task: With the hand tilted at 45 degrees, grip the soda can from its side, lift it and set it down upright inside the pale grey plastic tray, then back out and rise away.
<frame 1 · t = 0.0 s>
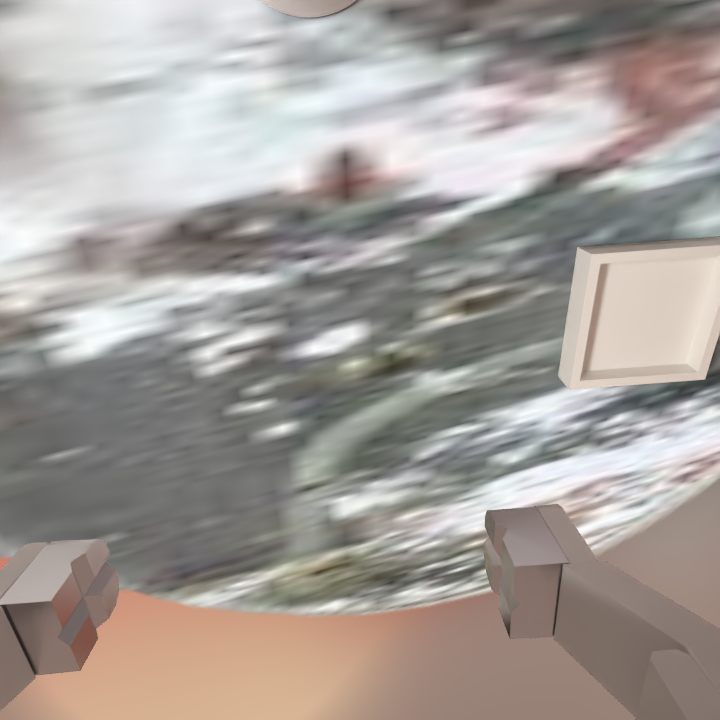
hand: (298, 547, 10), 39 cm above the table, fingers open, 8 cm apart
tray: (635, 311, 50), on the table
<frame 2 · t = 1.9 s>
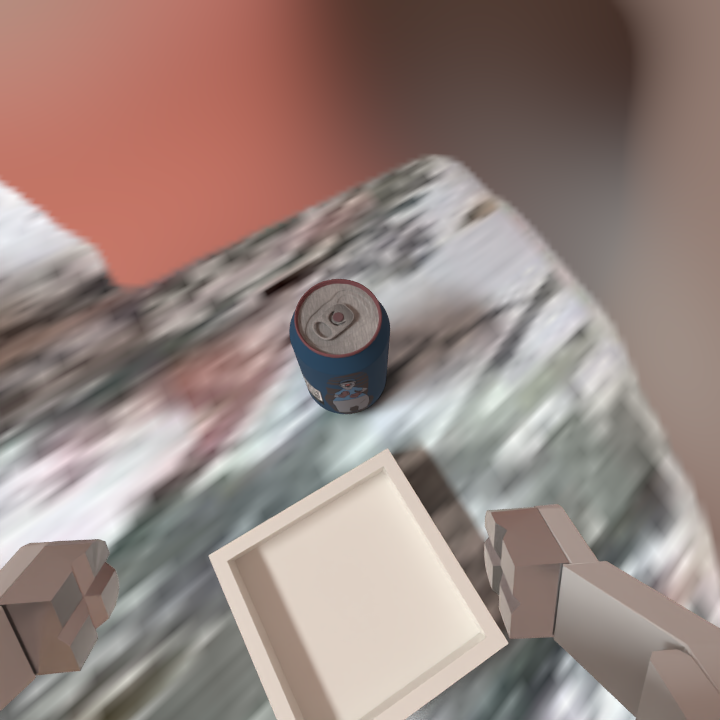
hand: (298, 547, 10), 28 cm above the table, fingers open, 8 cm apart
soda can: (346, 381, 41), on the table
tray: (354, 594, 34), on the table
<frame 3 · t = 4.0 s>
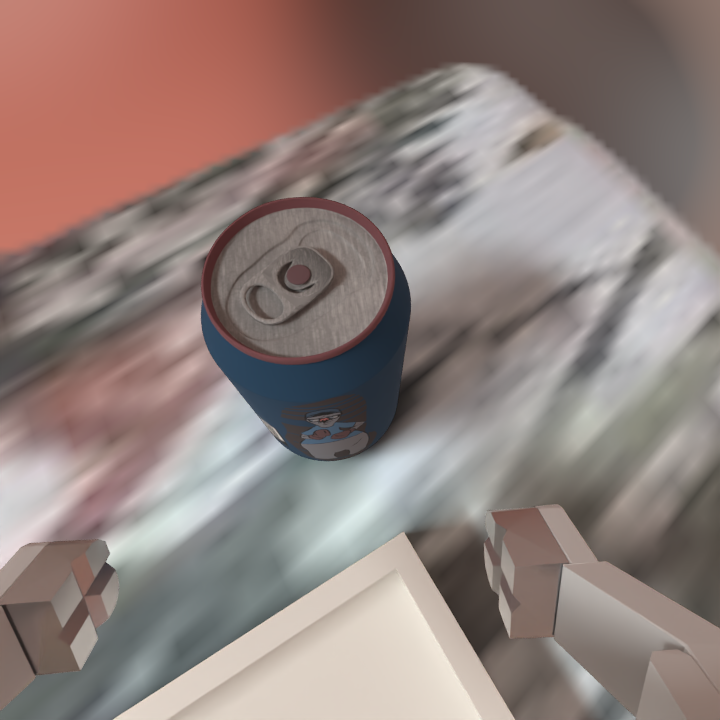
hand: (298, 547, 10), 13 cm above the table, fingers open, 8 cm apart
soda can: (331, 402, 25), on the table
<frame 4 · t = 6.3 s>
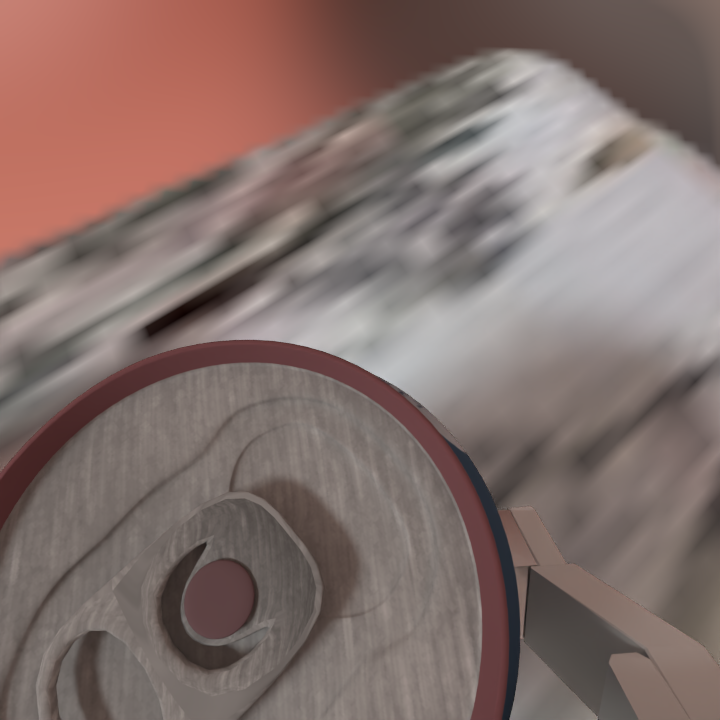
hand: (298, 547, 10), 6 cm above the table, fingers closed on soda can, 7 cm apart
soda can: (328, 571, 16), on the table, touching gripper
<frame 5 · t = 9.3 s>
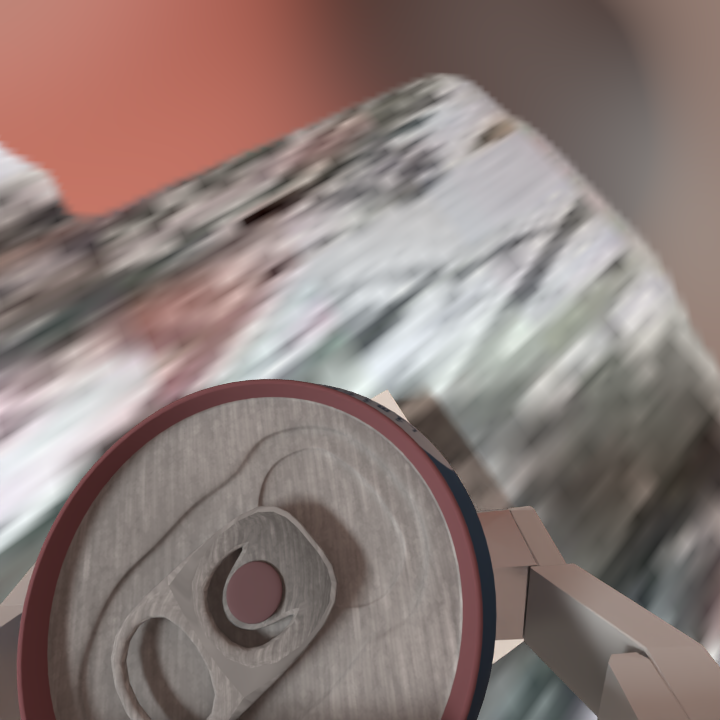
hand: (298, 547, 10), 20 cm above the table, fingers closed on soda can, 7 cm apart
soda can: (329, 570, 17), point 12 cm above the table, touching gripper
tray: (345, 568, 27), on the table
when the fingers open (9 cm above the table, at t = 12.3 s): soda can stays where it is, resting on tray.
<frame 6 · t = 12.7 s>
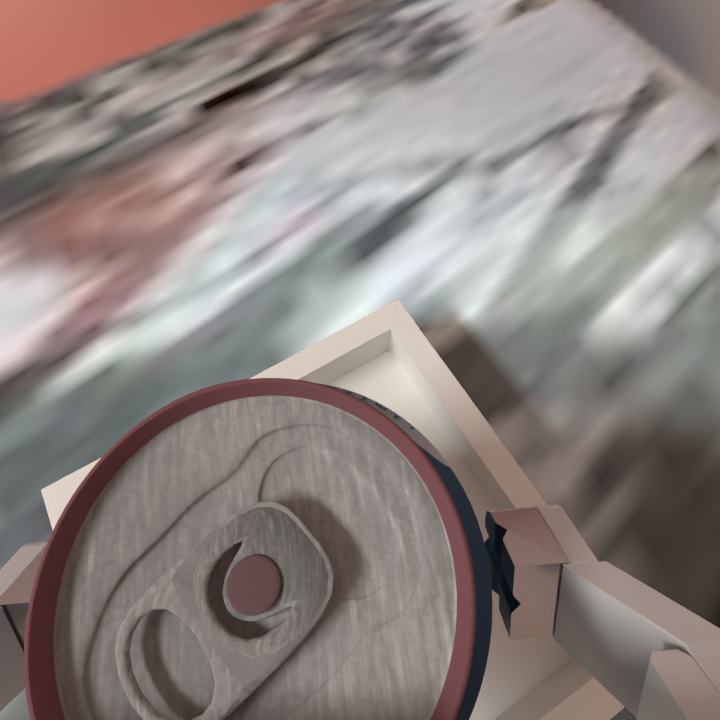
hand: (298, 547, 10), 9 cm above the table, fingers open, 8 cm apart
soda can: (332, 569, 17), point 1 cm above the table, touching tray
tray: (334, 570, 18), on the table
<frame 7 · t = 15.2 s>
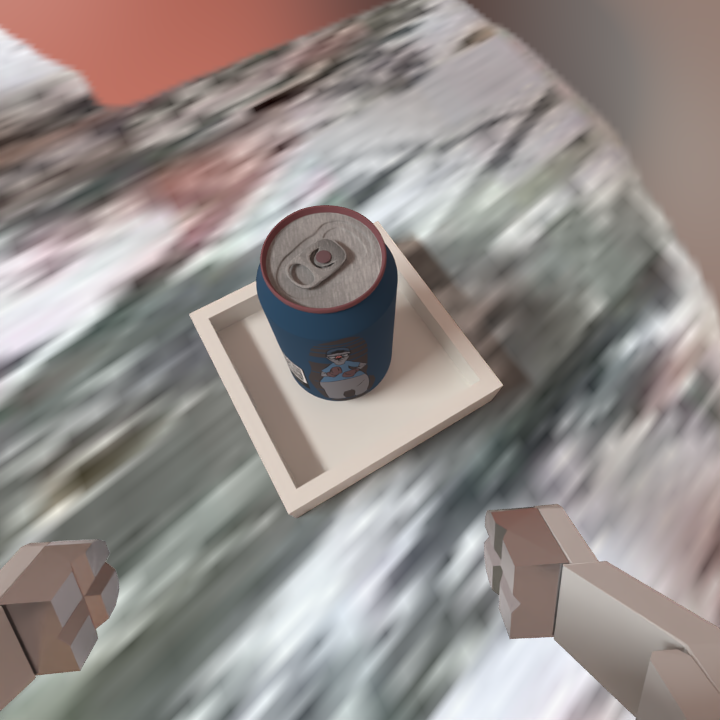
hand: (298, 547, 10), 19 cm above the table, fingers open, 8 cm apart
soda can: (341, 360, 32), point 1 cm above the table, touching tray
tray: (342, 365, 33), on the table
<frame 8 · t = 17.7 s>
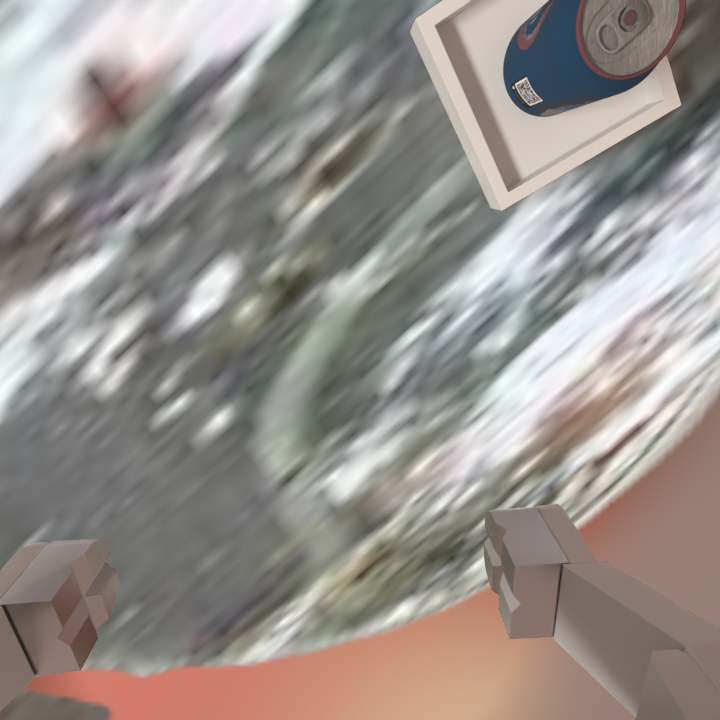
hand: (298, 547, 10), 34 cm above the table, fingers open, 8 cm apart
soda can: (541, 69, 36), point 1 cm above the table, touching tray
tray: (537, 72, 37), on the table
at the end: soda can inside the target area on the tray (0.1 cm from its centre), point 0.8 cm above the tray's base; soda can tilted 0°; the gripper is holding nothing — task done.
